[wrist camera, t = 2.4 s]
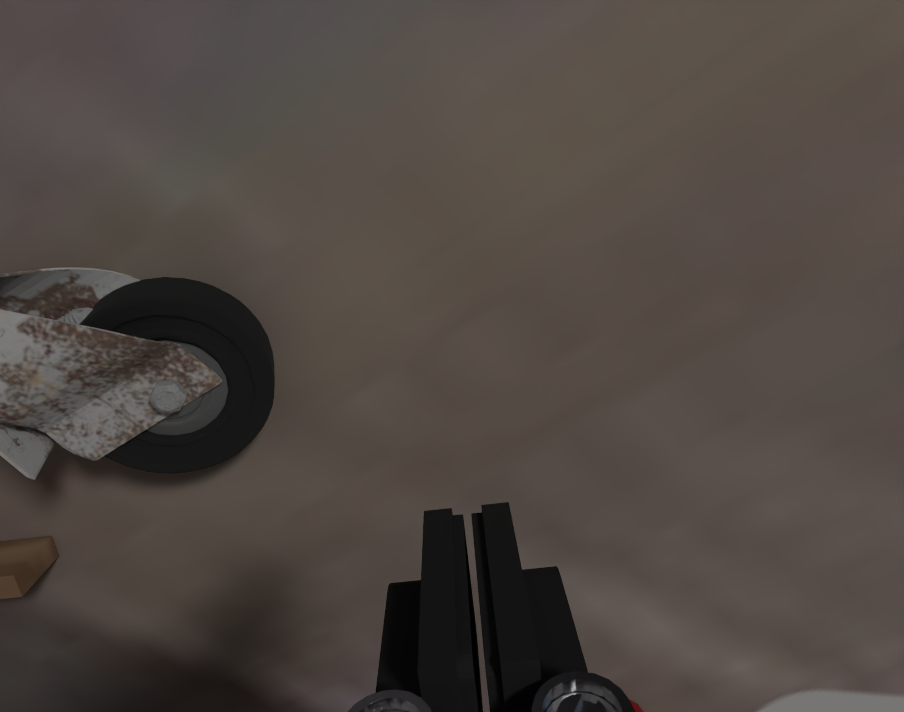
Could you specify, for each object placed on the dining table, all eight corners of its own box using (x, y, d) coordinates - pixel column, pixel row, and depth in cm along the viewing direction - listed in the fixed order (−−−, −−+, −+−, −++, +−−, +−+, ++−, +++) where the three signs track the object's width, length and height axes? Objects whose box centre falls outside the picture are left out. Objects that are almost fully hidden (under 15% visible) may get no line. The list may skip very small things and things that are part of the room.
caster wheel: (306, 363, 31) (138, 468, 31) (151, 165, 26) (-53, 291, 26) (316, 433, 26) (109, 561, 26) (118, 196, 20) (-146, 359, 20)
